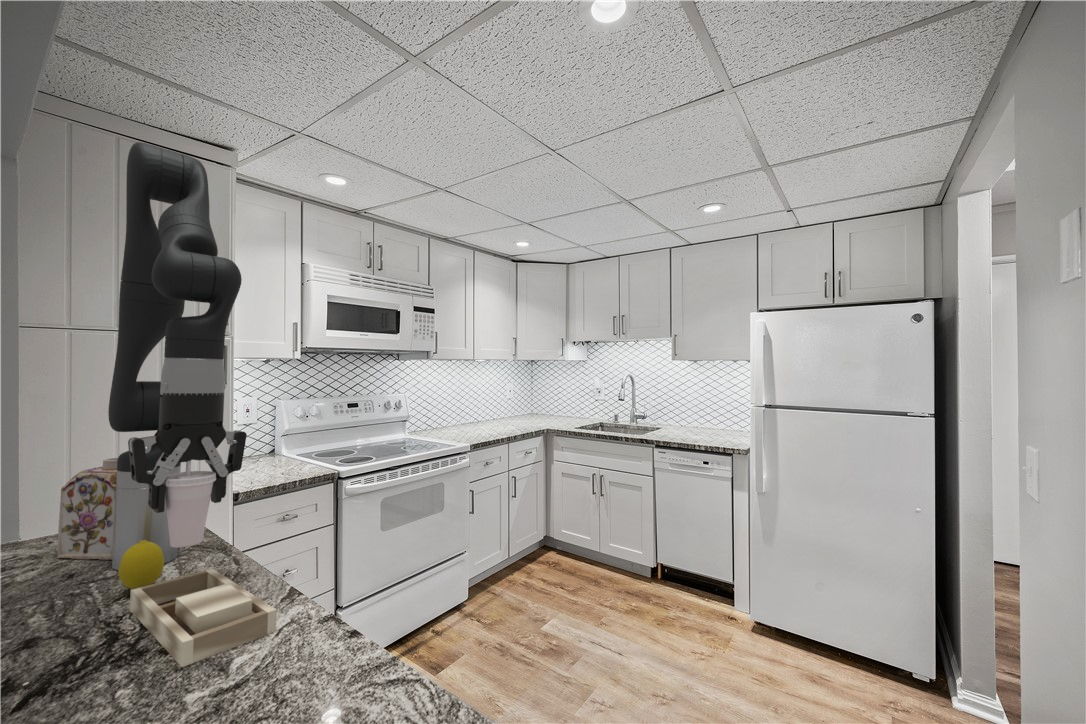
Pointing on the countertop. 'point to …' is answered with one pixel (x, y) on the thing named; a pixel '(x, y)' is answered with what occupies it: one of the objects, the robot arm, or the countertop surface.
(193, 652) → the offcut rack
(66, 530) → the decorative jar
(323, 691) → the countertop surface
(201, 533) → the smoothie
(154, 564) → the lemon
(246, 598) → the offcut top
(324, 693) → the countertop surface
